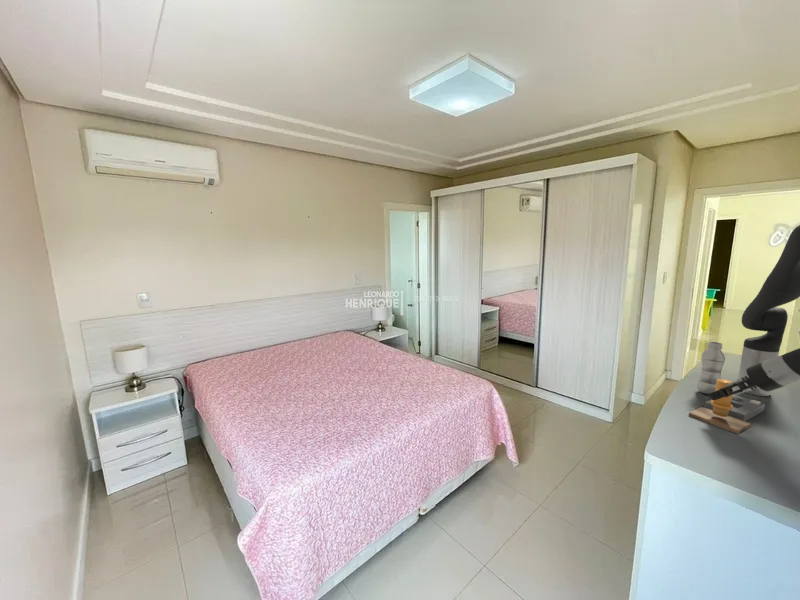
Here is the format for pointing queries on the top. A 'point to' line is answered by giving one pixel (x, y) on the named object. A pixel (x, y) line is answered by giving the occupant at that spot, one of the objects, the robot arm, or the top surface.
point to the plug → (722, 400)
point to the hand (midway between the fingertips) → (714, 395)
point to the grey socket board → (741, 407)
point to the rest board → (720, 420)
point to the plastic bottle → (711, 368)
